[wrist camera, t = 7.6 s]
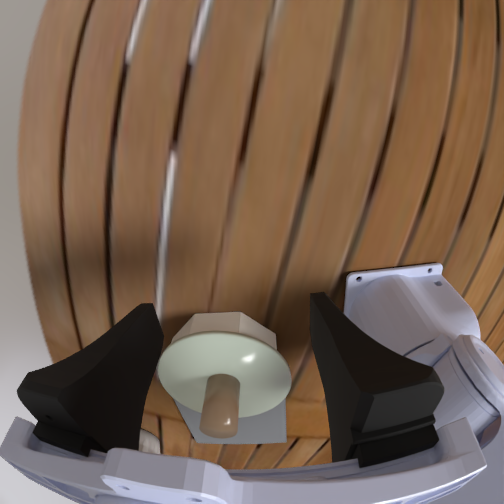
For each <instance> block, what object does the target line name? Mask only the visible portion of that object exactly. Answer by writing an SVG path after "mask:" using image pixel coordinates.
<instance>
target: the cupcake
mask: <svg viewBox="0 0 504 504" xmlns="http://www.w3.org/2000/svg"><path fill="white" fill-rule="evenodd" d="M139 451H143V452H149V453H156V454H160V443H159V440H158V438H157V437H156V436H154V435H153V434H151V433H150V432H148V431H145V430H143V429H141V430H140V441H139Z"/></svg>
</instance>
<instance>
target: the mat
mask: <svg viewBox="0 0 504 504" xmlns="http://www.w3.org/2000/svg"><path fill="white" fill-rule="evenodd" d="M173 399H174V398H173ZM174 401H175V403H176V405H177V407H178V409H179V411H180V413H181V415H182V416H183V418H184V420H185V422H186V424H187V426H188V428H189V429H190V431H191V433H192V435H193V437H194V438H195V440H196V442H197V443H211V444H262V443H280V442H286V407H285V398H284V400H283V401H282V402H281V403H279V404H278V405H277V406H275V407H274V408H272V409H270V410H268V411H266V412H264V413H261V414H258V415H254V416H249V417H241V418H238V432H237V434H236V435H235V436H233V437H231V438H224V439H221V438H213V437H210V436H207V435H205V434H203V433H202V432H201V431H200V429H199V426H200V420H201V414H202V413H200V412H197V411H194V410H192V409H190V408H188V407H186V406H184V405H182V404H181V403H179V402H178V401H176V400H175V399H174Z"/></svg>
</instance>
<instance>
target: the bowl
mask: <svg viewBox="0 0 504 504" xmlns="http://www.w3.org/2000/svg"><path fill="white" fill-rule="evenodd" d="M202 331H230V332H236V333H241V334H245V335H248V336H252V337H254V338H257V339H259V340H262V341H263V342H265V343H267V344H269V345H270V346H272V347H273V348H275V349H276V350H277V345H276V334H275V333H273V332H272V331H270V330H269V329H267V328H265V327H264V326H262V325H261V324H259V323H258V322H256V321H254V320H253V319H251V318H250V317H248V316H247V315H245V314H244V313H242V312H223V313H201V314H194V315H193V316H192V317H191V318H190V320H189V321H188V322H187V323H186V324H185V325H184V326H183V327H182V328H181V329H180V331H179V332H178V333H177V334H176V335H175V336H174V337H173V339H172V342H174V341H175V340H177V339H179V338H181V337H183V336H185V335H188V334H192V333H196V332H202ZM172 342H171V343H172Z"/></svg>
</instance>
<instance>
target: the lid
mask: <svg viewBox="0 0 504 504" xmlns="http://www.w3.org/2000/svg"><path fill="white" fill-rule="evenodd" d="M158 375H159V379H160V382H161V384H162V385H163V387H164V388H165V390H166V391H167V392H168V393H169V394H170V395H171V396H172V397H173V398H174V399H175V400H176V401H178V402H179V403H181V404H182V405H184V406H186V407H188V408H190V409H192V410H194V411H197V412H200V413H202V414H201V420H200V426H199V429H200V431H201V432H202V433H203V434H205V435H207V436H210V437H213V438H221V439H224V438H231V437H233V436H235V435H236V434H237V432H238V418H241V417H249V416H254V415H258V414H261V413H264V412H266V411H268V410H270V409H272V408H274V407H275V406H277V405H278V404H279V403H281V402H282V401H283V400H284V398H285V397H286V396H287V394H288V393H289V390H290V387H291V372H290V368H289V365H288V363H287V361H286V360H285V358H284V357H283V356H282V355H281V354H280V353H279V352H278V351H277V350H276V349H275V348H273V347H272V346H270V345H269V344H267V343H265V342H263V341H262V340H259V339H257V338H254V337H252V336H248V335H245V334H241V333H236V332H230V331H202V332H196V333H192V334H188V335H185V336H183V337H181V338H179V339H177V340H175V341H174V342H172V343H171V344H170V345H169V346H168V347H167V348H166V349H165V350H164V352H163V354H162V356H161V358H160V361H159V365H158Z"/></svg>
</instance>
